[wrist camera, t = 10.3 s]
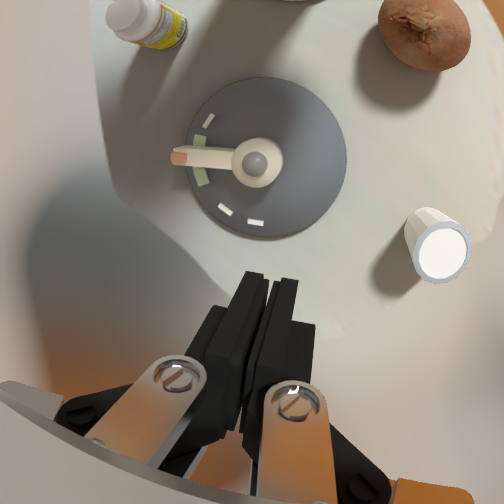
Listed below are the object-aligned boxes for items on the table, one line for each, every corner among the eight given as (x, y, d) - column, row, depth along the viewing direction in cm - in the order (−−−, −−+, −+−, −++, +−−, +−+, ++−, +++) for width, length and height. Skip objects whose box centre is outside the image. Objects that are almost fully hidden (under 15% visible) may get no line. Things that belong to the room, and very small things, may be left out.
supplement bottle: (143, 25, 31) (93, 8, 22) (180, 3, 29) (137, -23, 20) (156, 59, 32) (107, 48, 23) (196, 37, 31) (154, 16, 21)
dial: (194, 75, 32) (189, 74, 31) (355, 90, 30) (357, 89, 28) (186, 221, 40) (181, 224, 39) (331, 245, 37) (331, 250, 36)
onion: (386, 59, 30) (364, 61, 24) (389, -13, 24) (366, -32, 18) (464, 80, 26) (467, 88, 19) (470, 5, 20) (475, -11, 13)
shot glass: (393, 253, 36) (405, 281, 30) (404, 197, 33) (421, 216, 27) (443, 259, 35) (462, 287, 29) (455, 206, 32) (479, 226, 26)
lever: (286, 139, 32) (281, 142, 29) (281, 183, 34) (276, 191, 31) (186, 131, 34) (170, 134, 30) (184, 172, 36) (169, 180, 32)
